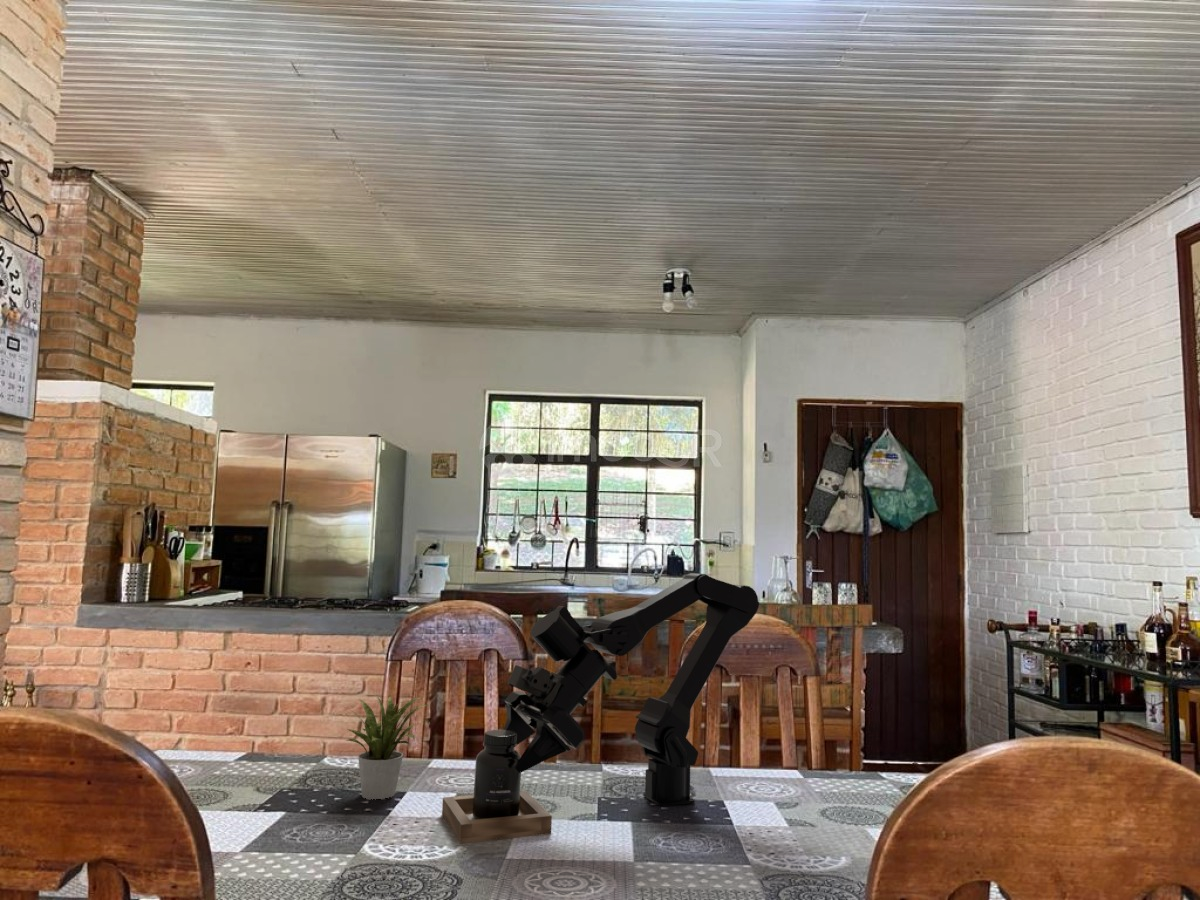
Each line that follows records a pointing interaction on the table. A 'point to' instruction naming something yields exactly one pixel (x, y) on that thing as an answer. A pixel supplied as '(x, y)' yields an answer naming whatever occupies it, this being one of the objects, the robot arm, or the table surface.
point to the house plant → (382, 750)
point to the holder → (495, 820)
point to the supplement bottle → (497, 777)
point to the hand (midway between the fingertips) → (505, 763)
